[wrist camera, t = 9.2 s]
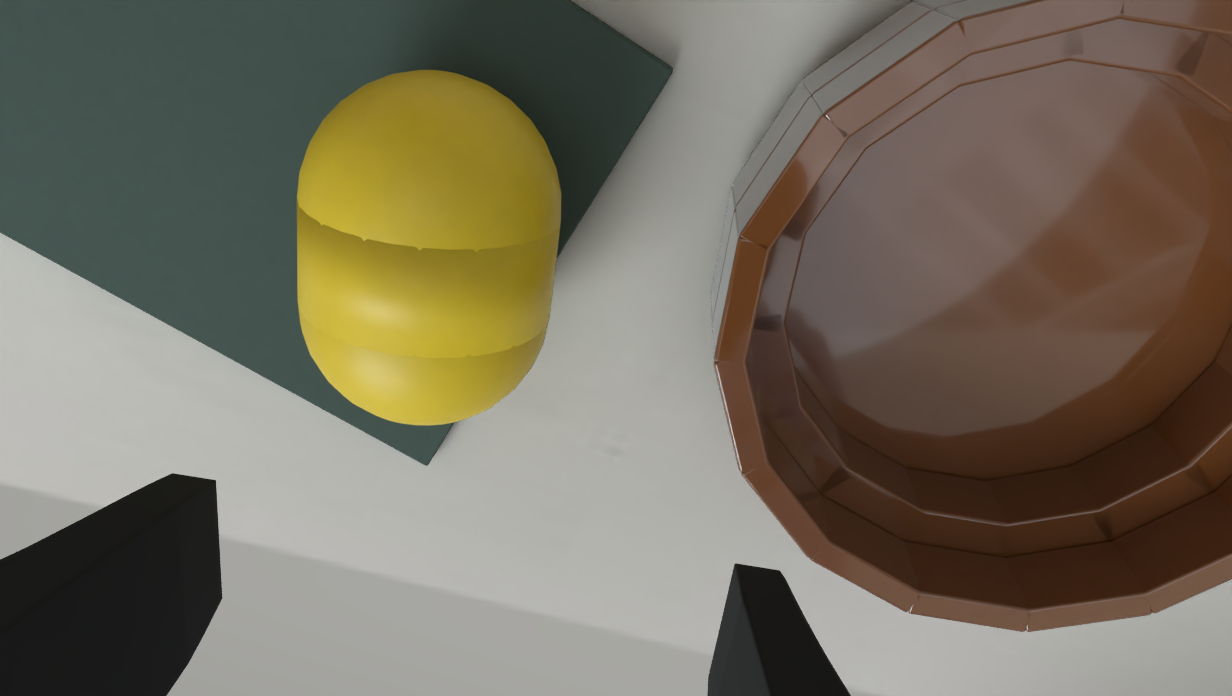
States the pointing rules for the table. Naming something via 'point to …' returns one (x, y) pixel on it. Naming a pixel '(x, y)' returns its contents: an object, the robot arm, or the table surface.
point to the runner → (265, 143)
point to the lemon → (426, 246)
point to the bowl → (995, 310)
